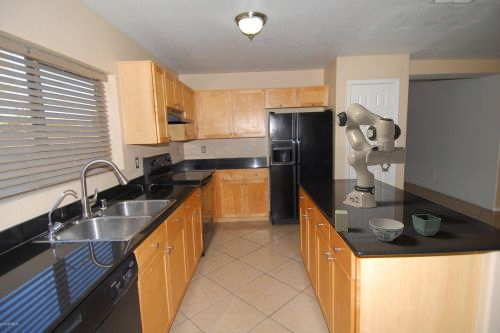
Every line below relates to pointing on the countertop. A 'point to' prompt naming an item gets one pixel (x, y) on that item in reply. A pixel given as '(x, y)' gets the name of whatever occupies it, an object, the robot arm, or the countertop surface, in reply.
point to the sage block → (341, 220)
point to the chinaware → (386, 228)
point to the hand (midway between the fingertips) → (385, 171)
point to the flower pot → (426, 224)
